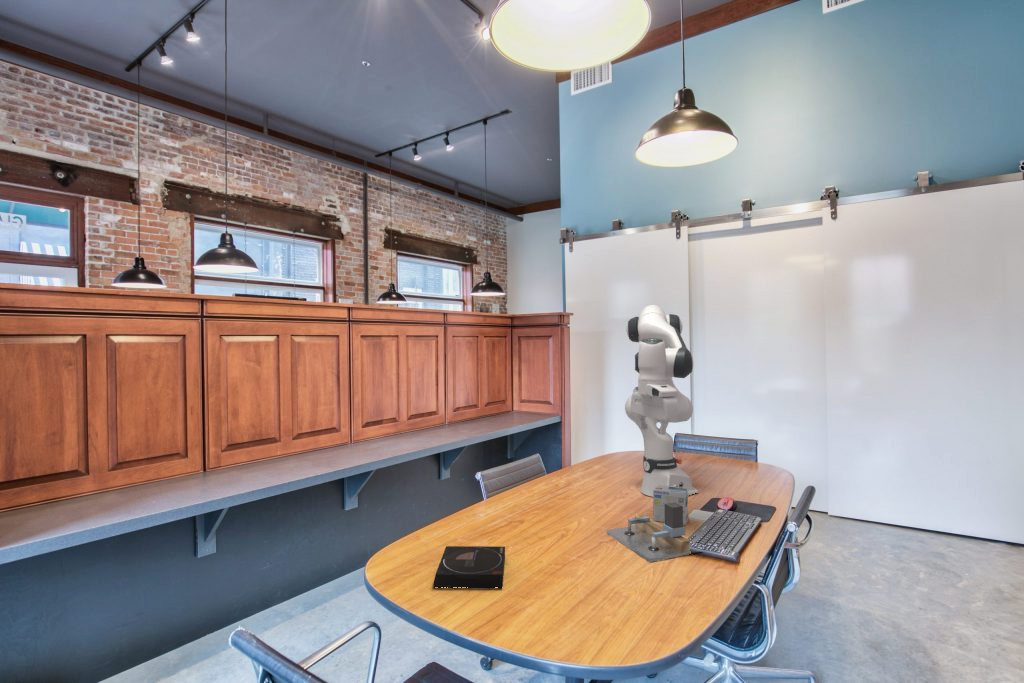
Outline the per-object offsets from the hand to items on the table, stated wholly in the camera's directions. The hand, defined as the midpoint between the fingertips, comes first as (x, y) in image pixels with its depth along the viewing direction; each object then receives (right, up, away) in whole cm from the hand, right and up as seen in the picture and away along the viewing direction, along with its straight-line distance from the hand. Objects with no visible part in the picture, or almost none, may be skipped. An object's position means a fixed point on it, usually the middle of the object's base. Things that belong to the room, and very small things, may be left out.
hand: (652, 431), depth 158 cm
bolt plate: (-3, -31, -11) cm, 33 cm away
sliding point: (-1, -30, -16) cm, 34 cm away
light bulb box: (+8, -31, +7) cm, 33 cm away
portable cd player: (-56, -32, -29) cm, 71 cm away
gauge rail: (-3, -30, -11) cm, 32 cm away
